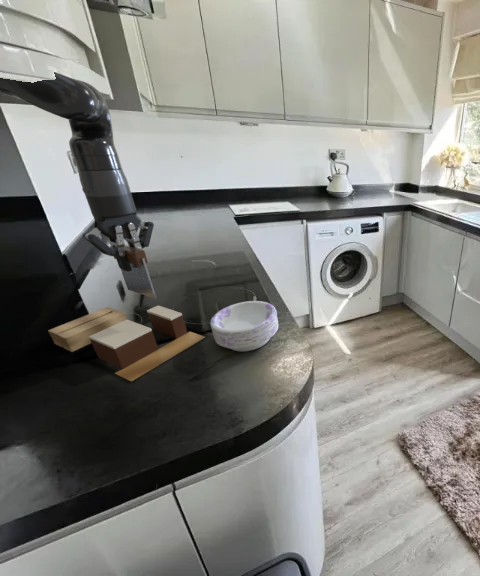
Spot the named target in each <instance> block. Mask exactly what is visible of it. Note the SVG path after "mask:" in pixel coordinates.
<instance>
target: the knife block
mask: <svg viewBox="0 0 480 576" xmlns="http://www.w3.org/2000/svg"><path fill="white" fill-rule="evenodd" d="M126 315H127V314H126V312H123V311H121V310H119V309H115V308H113V307H109V306H107V307H104V308H101V309H99V310H96V311H94V312H91V313H89V314H85V315H83V316H81V317H78V318H76V319H73V320H71V321H68V322H65V323H64V324H60V325H58V326H56V327H53V328H51V329H48V331H47V332H48V334H49V336H50V337H51V339H52V341H53V343H54V345H56V346H59V347H60V348H62V349H65V350H66V351H69V352H71V353H73V352H75V351H78V350H79V349H81V348H84V347H86V346H88V345H91V344H92V343H91V340H90V338H89V336H91V335H93V334H95V333H98V332H100V331H102V330H104V329H107V328H109V327H111V326H114V325H116V324H118V323H120V322H123V321H125V320H128V318H127V316H126Z"/></svg>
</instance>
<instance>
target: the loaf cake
mask: <svg viewBox="0 0 480 576" xmlns="http://www.w3.org/2000/svg"><path fill="white" fill-rule="evenodd" d="M89 338H90V340H91V343H90V344H91V345H92V347H93V350H94V352H95V353H96V356H97V358H98V359H100V360H102V361H104V362H106V363H109V364H111V365H113V366H115V367H117V368H119V369H120V370H121V369H124V368H126V367H128V366H130V365H131V364H133V363H135V362H137V361H139V360H140V359H142V358H144V357H146V356H148V355H149V354H151V353H153V352H155V351H157V350H158V349H159V346H158V343H157V341H156V338H155V336H154V332H153V328H151V327H148V326H145V325H143V324H141V323H138V322H136V321H132V320H129V319H127V320H125V321H123V322H120V323H118V324H116V325H114V326H111V327H109V328H107V329H104V330H102V331H100V332H98V333H95V334H93V335H91V336H89Z"/></svg>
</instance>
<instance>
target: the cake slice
mask: <svg viewBox="0 0 480 576" xmlns="http://www.w3.org/2000/svg"><path fill="white" fill-rule="evenodd" d="M146 313H147V316H148V318H149V321H150V324H151V327H152V331H155V332H157V333H161V334H163V335H166V336H168V337H171V338H174V339H177V338H179V337H181V336H183V335H185V334H186V333H188V330H187V327H186V323H185V320H184V317H183V314H182V312H179V311H176V310H174V309H171V308H168V307H164V306H161V305H156V306H153V307H151V308H149V309H147V310H146Z"/></svg>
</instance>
